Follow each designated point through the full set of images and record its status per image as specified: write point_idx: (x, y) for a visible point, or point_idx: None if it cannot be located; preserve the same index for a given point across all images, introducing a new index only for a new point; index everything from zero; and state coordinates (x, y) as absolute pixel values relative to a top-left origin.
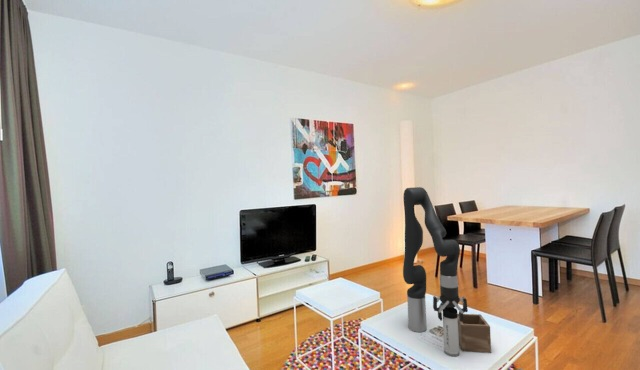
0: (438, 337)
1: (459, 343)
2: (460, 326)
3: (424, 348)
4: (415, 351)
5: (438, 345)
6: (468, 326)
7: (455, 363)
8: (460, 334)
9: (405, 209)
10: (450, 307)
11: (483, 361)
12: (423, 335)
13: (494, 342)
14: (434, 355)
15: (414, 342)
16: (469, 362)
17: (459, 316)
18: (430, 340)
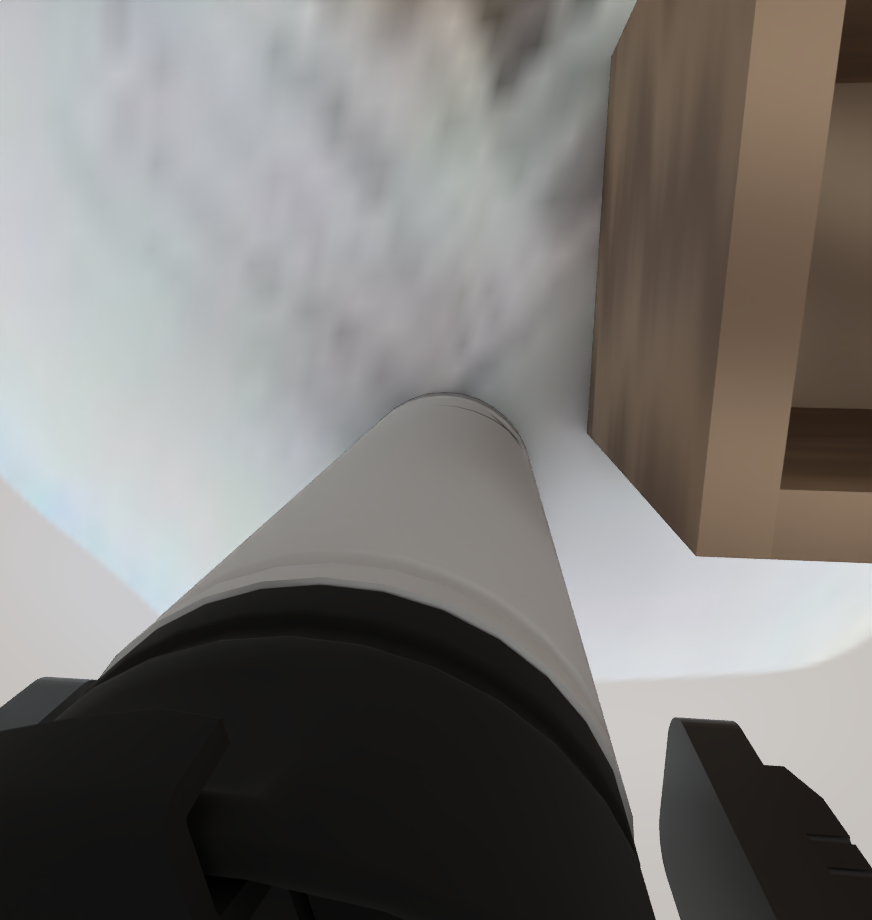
0: (358, 85)
1: (601, 295)
2: (678, 445)
3: (143, 410)
4: (42, 484)
5: (320, 320)
6: (863, 549)
7: None
8: (633, 389)
9: None
10: (363, 873)
11: (752, 622)
12: (150, 49)
13: None
14: None
15: (29, 276)
16: (586, 649)
17: (713, 874)
18: (234, 195)
